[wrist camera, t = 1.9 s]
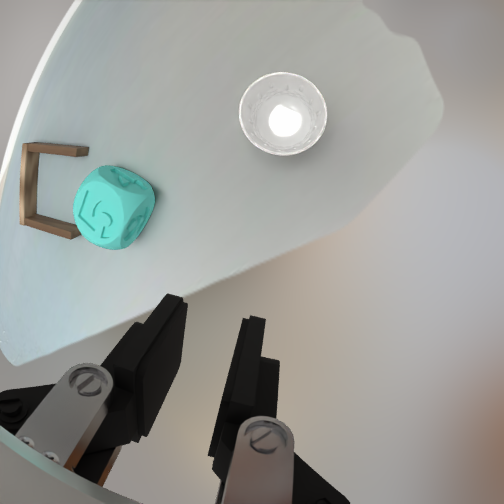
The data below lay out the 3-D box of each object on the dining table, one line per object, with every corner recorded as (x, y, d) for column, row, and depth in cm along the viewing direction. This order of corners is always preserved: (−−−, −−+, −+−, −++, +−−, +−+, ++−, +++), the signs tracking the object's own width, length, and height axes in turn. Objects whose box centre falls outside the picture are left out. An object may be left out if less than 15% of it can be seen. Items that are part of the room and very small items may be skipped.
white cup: (248, 150, 36) (234, 151, 26) (254, 89, 33) (243, 68, 24) (312, 158, 35) (322, 161, 26) (319, 96, 33) (330, 77, 23)
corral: (36, 142, 38) (22, 143, 35) (88, 147, 37) (75, 148, 34) (32, 219, 42) (19, 224, 39) (82, 234, 42) (69, 240, 39)
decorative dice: (117, 162, 38) (84, 167, 30) (163, 190, 39) (135, 200, 31) (98, 211, 41) (65, 225, 33) (140, 239, 41) (112, 258, 34)
